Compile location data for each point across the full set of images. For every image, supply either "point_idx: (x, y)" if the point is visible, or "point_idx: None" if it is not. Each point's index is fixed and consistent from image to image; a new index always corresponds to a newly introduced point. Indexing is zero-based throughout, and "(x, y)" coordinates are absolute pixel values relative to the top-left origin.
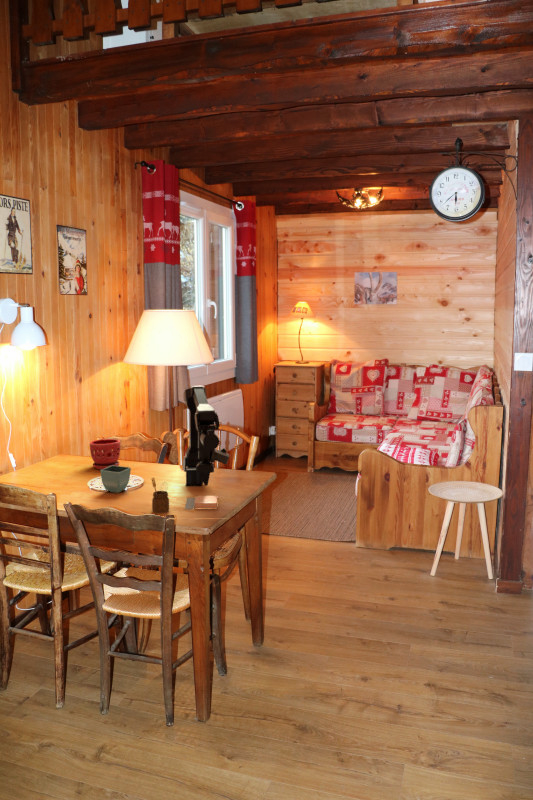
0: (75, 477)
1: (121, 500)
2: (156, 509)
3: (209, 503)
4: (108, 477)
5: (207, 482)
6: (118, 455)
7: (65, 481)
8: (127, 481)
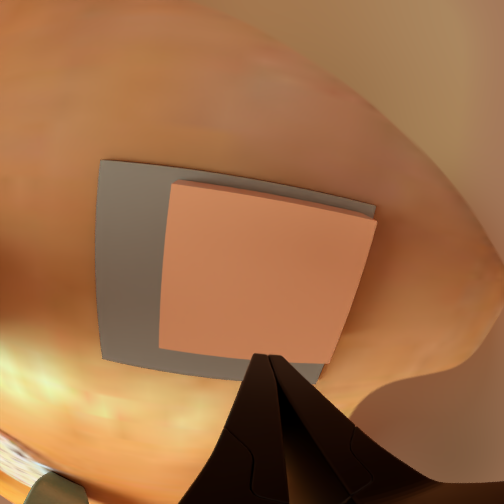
0: (13, 485)
1: (148, 496)
2: None
3: (361, 273)
4: None
5: (302, 385)
6: None
7: None
8: (45, 488)
